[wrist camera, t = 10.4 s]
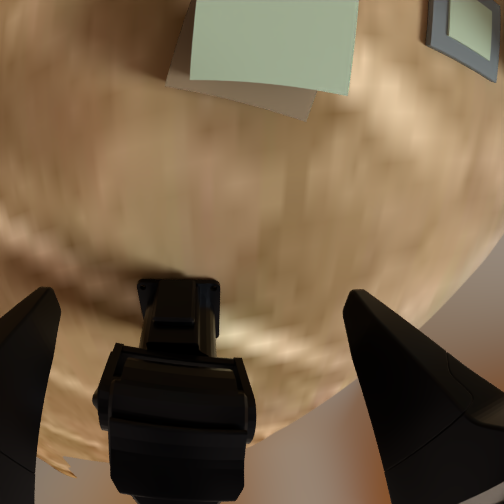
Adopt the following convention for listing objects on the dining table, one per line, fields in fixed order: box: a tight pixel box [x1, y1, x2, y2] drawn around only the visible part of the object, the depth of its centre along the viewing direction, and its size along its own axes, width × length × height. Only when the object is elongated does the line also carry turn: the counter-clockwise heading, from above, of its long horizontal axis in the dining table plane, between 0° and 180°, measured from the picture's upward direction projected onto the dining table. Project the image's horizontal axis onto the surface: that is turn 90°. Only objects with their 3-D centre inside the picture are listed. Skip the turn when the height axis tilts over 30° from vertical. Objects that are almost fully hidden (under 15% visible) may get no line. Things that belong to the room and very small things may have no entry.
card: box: [426, 0, 500, 83], centre depth 12 cm, size 8×8×1 cm
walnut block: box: [165, 0, 317, 122], centre depth 13 cm, size 7×7×4 cm
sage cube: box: [190, 0, 359, 96], centre depth 9 cm, size 5×5×5 cm
